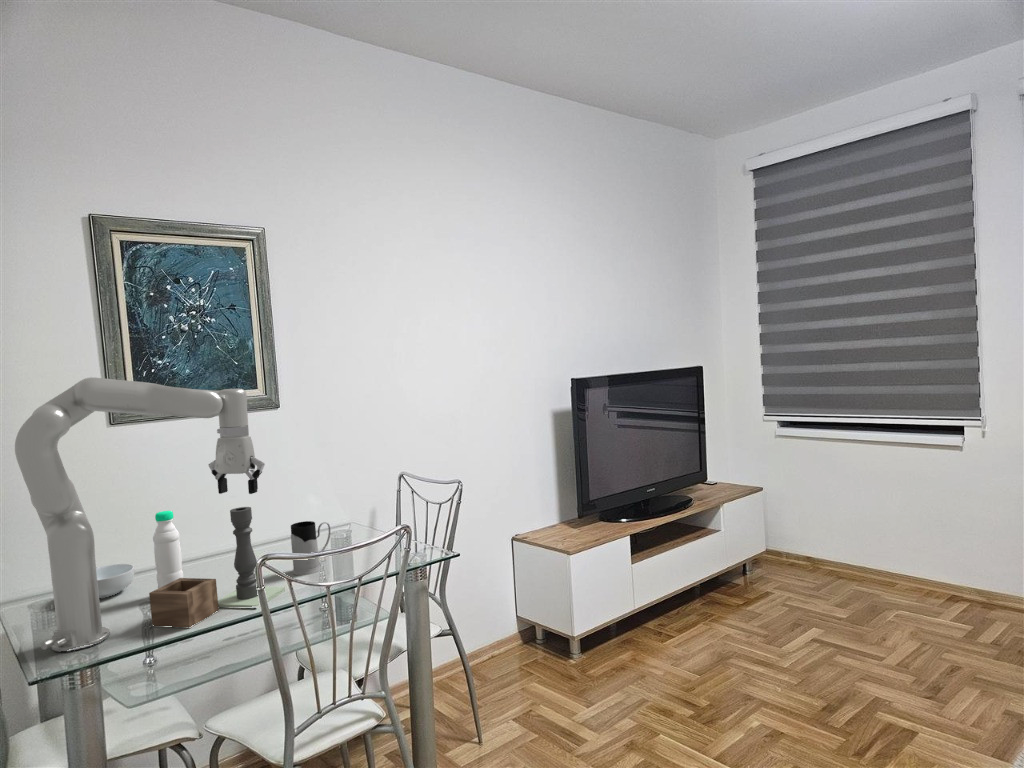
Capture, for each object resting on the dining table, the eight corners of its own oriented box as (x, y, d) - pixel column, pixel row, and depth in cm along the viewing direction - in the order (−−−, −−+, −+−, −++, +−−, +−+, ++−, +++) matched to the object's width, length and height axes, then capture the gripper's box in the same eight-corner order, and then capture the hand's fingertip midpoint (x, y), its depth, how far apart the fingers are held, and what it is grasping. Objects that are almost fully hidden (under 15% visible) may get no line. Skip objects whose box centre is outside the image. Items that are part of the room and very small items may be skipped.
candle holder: (264, 593, 200) (256, 507, 198) (246, 600, 195) (238, 512, 193) (250, 590, 203) (243, 505, 202) (232, 597, 198) (224, 511, 197)
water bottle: (174, 599, 203) (166, 514, 201) (153, 599, 204) (144, 515, 203) (190, 590, 210) (182, 508, 208) (169, 590, 211) (161, 509, 210)
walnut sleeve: (189, 628, 180) (186, 594, 179) (152, 626, 183) (149, 593, 182) (218, 611, 191) (215, 578, 191) (182, 609, 194) (179, 577, 193)
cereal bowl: (141, 593, 210) (139, 570, 210) (76, 609, 200) (74, 585, 199) (130, 581, 223) (128, 559, 223) (69, 595, 213) (66, 572, 213)
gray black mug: (286, 572, 222) (282, 525, 221) (324, 559, 232) (321, 515, 232) (302, 577, 216) (298, 529, 215) (340, 564, 227) (337, 518, 226)
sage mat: (256, 609, 191) (256, 605, 191) (212, 607, 194) (212, 603, 194) (285, 590, 204) (284, 587, 204) (243, 589, 208) (242, 586, 208)
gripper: (198, 434, 195) (202, 495, 196) (253, 433, 191) (257, 496, 191) (216, 431, 202) (220, 490, 203) (269, 430, 198) (272, 490, 199)
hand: (238, 492), depth 197 cm, fingers open, 9 cm apart
